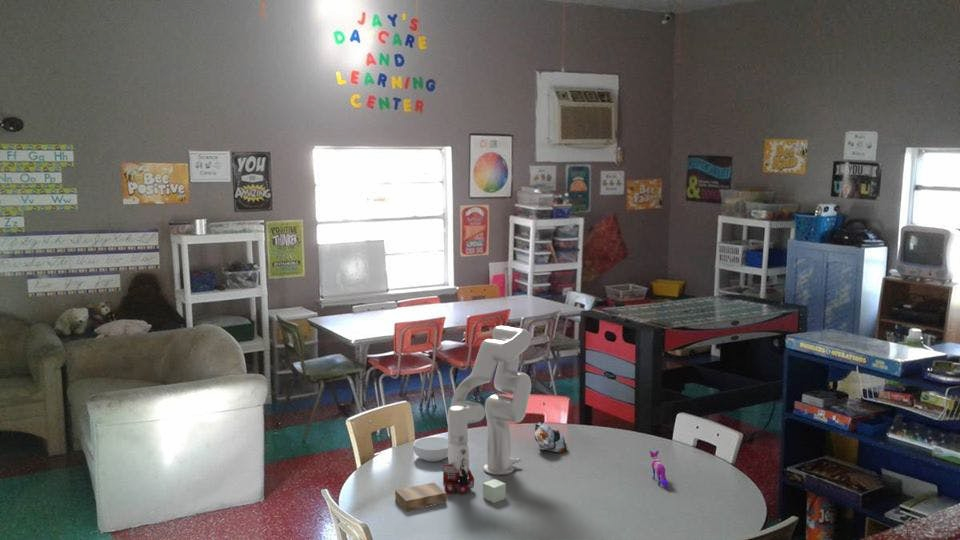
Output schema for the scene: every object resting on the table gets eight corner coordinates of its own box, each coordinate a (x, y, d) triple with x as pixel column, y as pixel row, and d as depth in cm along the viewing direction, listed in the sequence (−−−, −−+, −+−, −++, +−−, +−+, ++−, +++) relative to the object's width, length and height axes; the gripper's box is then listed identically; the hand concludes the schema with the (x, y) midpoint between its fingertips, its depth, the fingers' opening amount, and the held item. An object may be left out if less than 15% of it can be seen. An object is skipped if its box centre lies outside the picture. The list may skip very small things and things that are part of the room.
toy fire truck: (472, 494, 304) (472, 468, 303) (440, 493, 306) (440, 467, 304) (474, 487, 311) (474, 462, 310) (443, 486, 313) (443, 460, 311)
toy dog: (656, 472, 326) (656, 448, 325) (671, 490, 308) (671, 464, 307) (647, 472, 326) (647, 448, 324) (661, 490, 308) (662, 465, 306)
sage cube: (494, 493, 305) (494, 478, 304) (505, 498, 301) (505, 483, 300) (483, 498, 301) (483, 483, 300) (493, 503, 297) (493, 487, 296)
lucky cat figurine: (570, 453, 347) (560, 430, 341) (545, 464, 348) (534, 440, 342) (562, 432, 361) (552, 410, 355) (537, 443, 361) (527, 420, 355)
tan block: (434, 492, 307) (434, 482, 306) (446, 502, 297) (446, 492, 296) (395, 500, 299) (395, 490, 299) (406, 511, 290) (406, 501, 289)
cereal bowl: (460, 456, 344) (460, 440, 343) (438, 469, 330) (437, 452, 329) (428, 449, 353) (428, 433, 352) (405, 460, 339) (405, 444, 338)
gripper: (476, 443, 300) (476, 486, 302) (456, 430, 315) (456, 471, 317) (458, 446, 296) (458, 490, 299) (439, 433, 312) (439, 474, 314)
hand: (457, 480), depth 308 cm, fingers open, 9 cm apart
